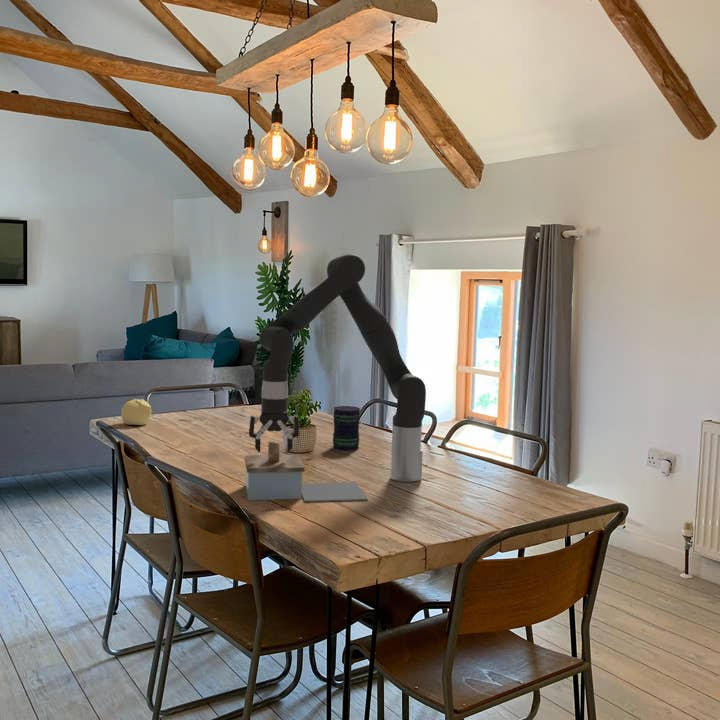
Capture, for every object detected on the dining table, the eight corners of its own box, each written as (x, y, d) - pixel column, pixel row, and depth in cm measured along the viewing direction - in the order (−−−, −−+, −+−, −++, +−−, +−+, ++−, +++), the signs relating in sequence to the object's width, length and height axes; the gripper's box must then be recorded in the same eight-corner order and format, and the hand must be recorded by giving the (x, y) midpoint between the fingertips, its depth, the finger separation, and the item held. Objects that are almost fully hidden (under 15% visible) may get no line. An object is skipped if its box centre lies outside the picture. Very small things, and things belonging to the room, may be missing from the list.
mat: (355, 483, 237) (355, 482, 237) (367, 500, 219) (367, 499, 219) (297, 485, 233) (297, 483, 233) (304, 502, 215) (304, 500, 215)
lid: (297, 458, 233) (298, 436, 232) (304, 471, 218) (305, 448, 217) (244, 459, 230) (244, 437, 229) (247, 472, 214) (247, 448, 214)
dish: (295, 484, 233) (296, 458, 233) (301, 498, 219) (302, 471, 218) (245, 485, 230) (245, 459, 230) (248, 500, 216) (248, 472, 215)
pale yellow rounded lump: (154, 426, 316) (155, 400, 315) (125, 428, 310) (125, 401, 309) (147, 421, 326) (147, 395, 324) (118, 423, 320) (118, 397, 318)
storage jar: (358, 451, 281) (360, 411, 280) (331, 450, 282) (333, 410, 280) (359, 445, 291) (360, 406, 290) (333, 444, 292) (334, 405, 290)
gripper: (297, 394, 227) (296, 448, 228) (249, 394, 224) (248, 448, 226) (300, 398, 219) (299, 454, 221) (250, 398, 217) (249, 454, 218)
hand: (273, 451), depth 223 cm, fingers open, 8 cm apart
